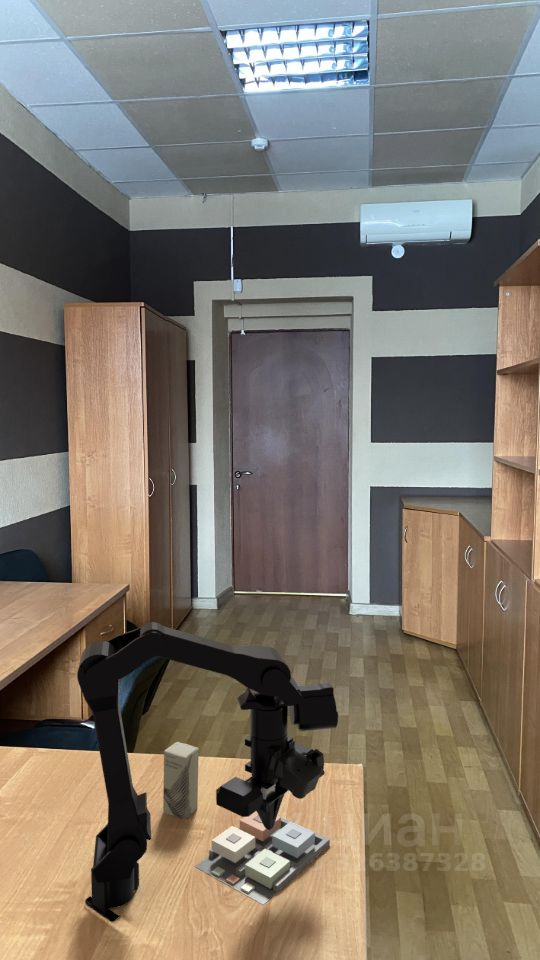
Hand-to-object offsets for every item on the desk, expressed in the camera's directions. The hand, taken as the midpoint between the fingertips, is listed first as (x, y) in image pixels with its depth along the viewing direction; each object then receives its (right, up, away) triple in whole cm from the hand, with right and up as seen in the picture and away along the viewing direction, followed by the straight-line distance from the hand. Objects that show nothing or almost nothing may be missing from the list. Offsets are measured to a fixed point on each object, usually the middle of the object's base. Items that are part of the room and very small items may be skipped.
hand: (268, 828), depth 108 cm
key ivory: (-6, -6, +5) cm, 10 cm away
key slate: (+4, -6, +6) cm, 9 cm away
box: (-16, -7, +19) cm, 26 cm away
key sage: (0, -7, +1) cm, 8 cm away
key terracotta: (-1, -5, +10) cm, 12 cm away
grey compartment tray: (-1, -9, +6) cm, 10 cm away
